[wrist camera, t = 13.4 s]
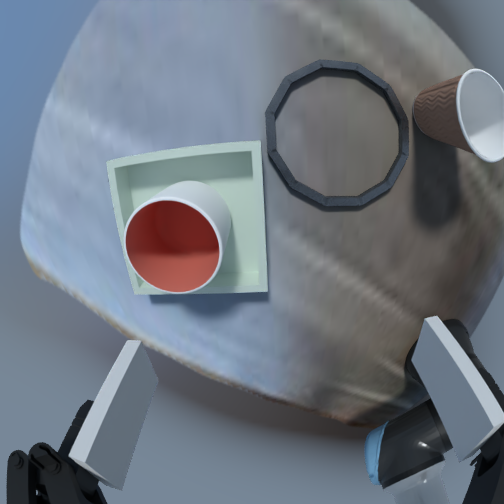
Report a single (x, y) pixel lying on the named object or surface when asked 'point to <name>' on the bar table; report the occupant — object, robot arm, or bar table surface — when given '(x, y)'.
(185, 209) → the cup
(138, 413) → the robot arm
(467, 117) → the coffee cup
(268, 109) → the socket ring
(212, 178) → the bin
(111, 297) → the bar table surface
